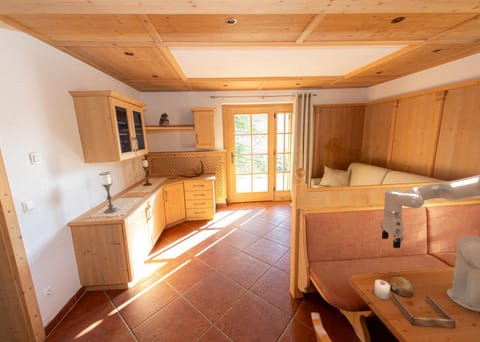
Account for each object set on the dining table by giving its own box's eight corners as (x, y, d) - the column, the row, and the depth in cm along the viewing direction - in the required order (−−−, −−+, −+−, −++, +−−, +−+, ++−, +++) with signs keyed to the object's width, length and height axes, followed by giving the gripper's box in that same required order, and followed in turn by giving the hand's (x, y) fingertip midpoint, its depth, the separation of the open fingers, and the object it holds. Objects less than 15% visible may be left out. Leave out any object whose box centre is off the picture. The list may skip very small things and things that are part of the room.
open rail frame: (427, 300, 92) (427, 294, 92) (455, 327, 79) (456, 321, 78) (391, 298, 94) (391, 292, 94) (412, 325, 81) (413, 318, 80)
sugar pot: (384, 290, 99) (385, 277, 98) (392, 299, 93) (393, 285, 92) (371, 289, 100) (372, 276, 99) (378, 299, 94) (379, 285, 93)
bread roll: (413, 305, 94) (423, 292, 92) (392, 294, 95) (401, 282, 94) (401, 289, 104) (409, 278, 102) (382, 280, 105) (390, 269, 103)
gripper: (412, 219, 94) (409, 252, 97) (389, 207, 111) (387, 235, 114) (395, 219, 95) (393, 251, 98) (375, 207, 112) (374, 235, 115)
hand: (390, 243), depth 106 cm, fingers open, 9 cm apart
